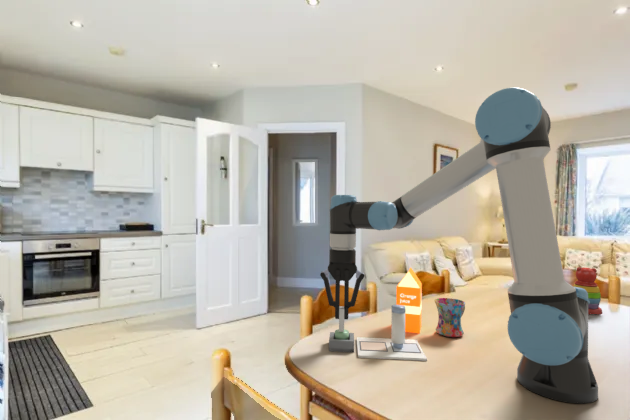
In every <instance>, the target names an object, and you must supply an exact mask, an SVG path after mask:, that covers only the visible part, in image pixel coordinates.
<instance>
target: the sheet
mask: <svg viewBox="0 0 630 420" xmlns="http://www.w3.org/2000/svg"><path fill="white" fill-rule="evenodd" d="M356 347H357V358H360V359H381V360H400V361H401V360H402V361H404V360H405V361H423V362H426V361H428V358H427V356H426V353H424V351H423V349H422V347H421V345H420V343H419V342H418V339H408V338H405V343H403V348H401V349H397V348H394V347H393V342H392V341H391V338H386V337H385V338H383V337H362V336H360V337H358V336H356Z"/></svg>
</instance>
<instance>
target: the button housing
mask: <svg viewBox="0 0 630 420" xmlns="http://www.w3.org/2000/svg"><path fill="white" fill-rule="evenodd" d="M336 351H338V352H337V353H339V352H340V353H355V333H354V332H349V339H348V340H343V339H335V331H330V332H329V340H328V352H336Z"/></svg>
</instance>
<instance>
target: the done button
mask: <svg viewBox="0 0 630 420" xmlns="http://www.w3.org/2000/svg"><path fill="white" fill-rule="evenodd" d="M334 332H335V339H343V340H348V339H349V333H350V331H349V330H348V329H345V328H344V332H339V328H338V329H335V330H334Z"/></svg>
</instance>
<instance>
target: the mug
mask: <svg viewBox="0 0 630 420" xmlns="http://www.w3.org/2000/svg"><path fill="white" fill-rule="evenodd" d="M434 303H435V305H436V306H435V307H436V309H437V314H438V320H437V321H438V322H437V326H436V327H435V332H436V333H438V334H439V335H441V336H445V337H449V338H460V337H463V335H465V334H464V331H463V327H462V316H463V315H464V313H465V309H466V306H465V305H466V302H465V301H464V300H461V299H457V298H453V297H452V298H451V297H450V298H449V297H438V298H435V299H434Z"/></svg>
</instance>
